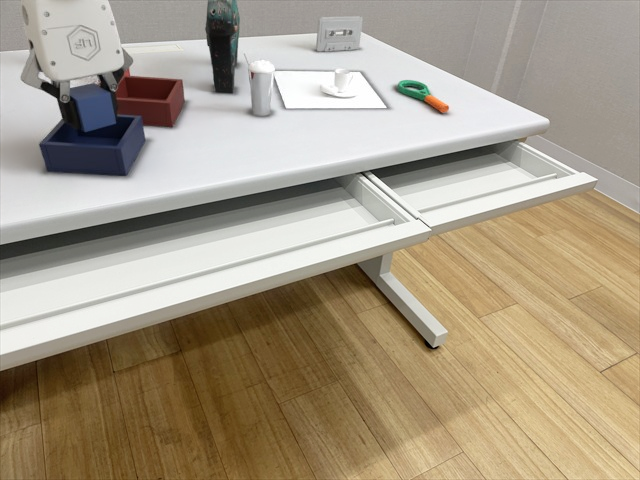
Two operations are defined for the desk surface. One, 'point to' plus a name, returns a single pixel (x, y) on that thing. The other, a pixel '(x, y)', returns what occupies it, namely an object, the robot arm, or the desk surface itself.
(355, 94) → the teacup and saucer
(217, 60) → the power drill
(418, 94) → the magnifying glass
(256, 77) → the milkshake
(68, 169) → the blue bin
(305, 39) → the desk surface
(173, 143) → the desk surface
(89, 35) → the robot arm
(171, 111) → the red bin
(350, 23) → the cassette
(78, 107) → the blue block
